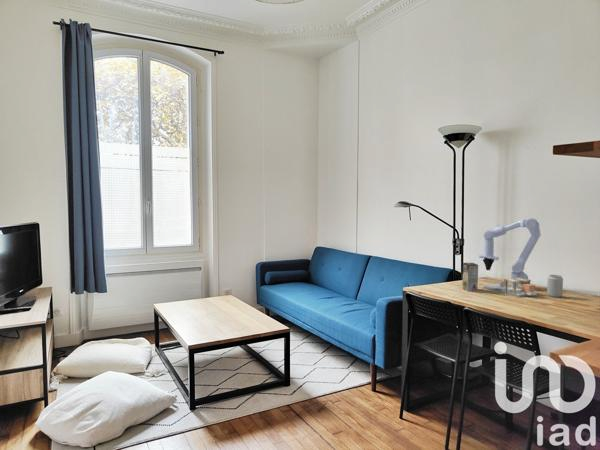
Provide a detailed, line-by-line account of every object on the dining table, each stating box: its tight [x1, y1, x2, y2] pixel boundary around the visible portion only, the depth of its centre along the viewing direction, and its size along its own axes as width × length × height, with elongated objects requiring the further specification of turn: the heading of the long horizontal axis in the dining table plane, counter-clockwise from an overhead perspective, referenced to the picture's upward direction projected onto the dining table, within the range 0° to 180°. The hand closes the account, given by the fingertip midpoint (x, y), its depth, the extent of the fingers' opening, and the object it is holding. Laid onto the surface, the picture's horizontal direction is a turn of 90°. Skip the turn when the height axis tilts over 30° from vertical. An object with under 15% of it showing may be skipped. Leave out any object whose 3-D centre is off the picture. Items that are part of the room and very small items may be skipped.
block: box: [522, 283, 536, 293], centre depth 241 cm, size 4×4×4 cm
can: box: [546, 274, 564, 298], centre depth 241 cm, size 8×8×12 cm
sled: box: [498, 280, 538, 296], centre depth 248 cm, size 5×22×4 cm, turn 21°
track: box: [482, 283, 539, 298], centre depth 253 cm, size 14×27×2 cm, turn 21°
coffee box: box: [461, 262, 479, 292], centre depth 258 cm, size 9×6×16 cm
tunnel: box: [503, 278, 531, 293], centre depth 248 cm, size 13×7×7 cm, turn 111°
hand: (488, 270), depth 276 cm, fingers closed
